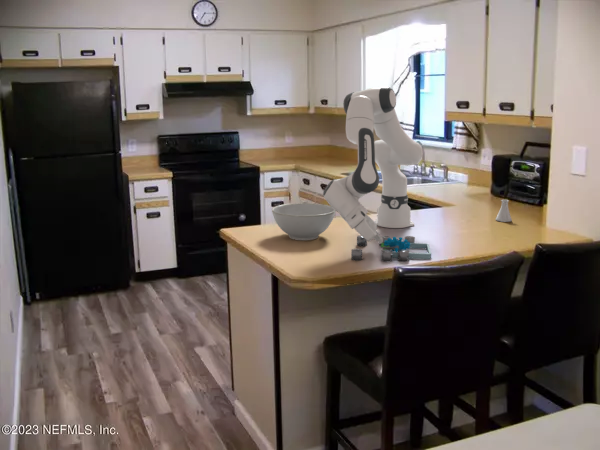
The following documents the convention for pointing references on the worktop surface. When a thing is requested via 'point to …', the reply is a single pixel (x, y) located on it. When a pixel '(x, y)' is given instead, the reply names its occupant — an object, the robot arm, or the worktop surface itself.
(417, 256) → the light blue u-shaped piece
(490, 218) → the worktop surface
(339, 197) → the robot arm
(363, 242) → the spacers
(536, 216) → the worktop surface
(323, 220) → the decorative bowl
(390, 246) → the gear
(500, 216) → the flask
